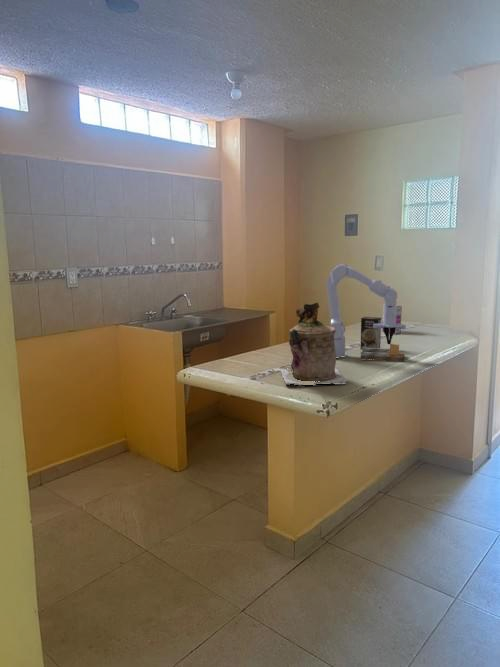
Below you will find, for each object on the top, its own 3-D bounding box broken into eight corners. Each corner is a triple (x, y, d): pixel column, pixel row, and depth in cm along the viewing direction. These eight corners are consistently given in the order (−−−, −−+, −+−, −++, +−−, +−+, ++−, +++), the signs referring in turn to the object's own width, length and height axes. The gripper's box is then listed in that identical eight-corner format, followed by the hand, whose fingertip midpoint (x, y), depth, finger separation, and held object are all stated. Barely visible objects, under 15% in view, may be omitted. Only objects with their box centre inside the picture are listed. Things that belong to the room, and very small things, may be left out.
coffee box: (360, 349, 252) (360, 318, 249) (363, 346, 257) (363, 316, 254) (378, 350, 247) (378, 319, 244) (381, 348, 253) (381, 317, 250)
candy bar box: (401, 333, 288) (402, 305, 285) (394, 334, 286) (395, 306, 283) (388, 330, 298) (389, 303, 295) (382, 331, 296) (382, 304, 293)
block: (389, 354, 229) (390, 345, 228) (389, 352, 233) (390, 343, 232) (398, 355, 228) (399, 346, 227) (398, 353, 232) (399, 344, 231)
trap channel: (360, 359, 230) (360, 352, 229) (362, 354, 240) (362, 347, 240) (404, 361, 224) (404, 354, 224) (404, 356, 235) (404, 349, 234)
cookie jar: (335, 369, 215) (335, 296, 209) (348, 385, 191) (349, 304, 185) (279, 371, 215) (278, 298, 209) (285, 388, 190) (283, 306, 184)
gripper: (373, 315, 226) (372, 344, 229) (406, 316, 222) (405, 346, 224) (374, 313, 233) (373, 341, 235) (406, 314, 228) (405, 342, 231)
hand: (388, 343), depth 230 cm, fingers closed
